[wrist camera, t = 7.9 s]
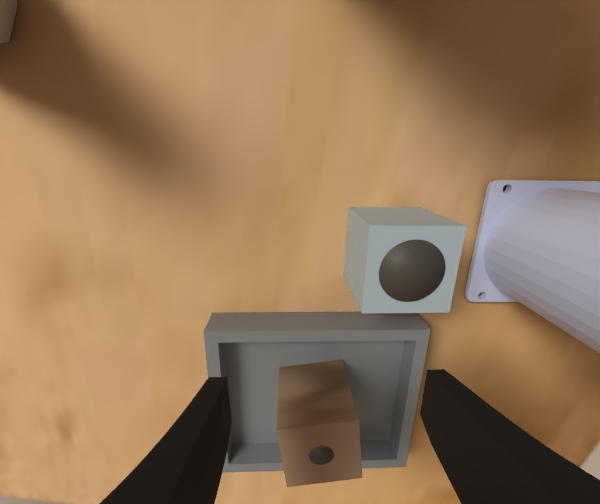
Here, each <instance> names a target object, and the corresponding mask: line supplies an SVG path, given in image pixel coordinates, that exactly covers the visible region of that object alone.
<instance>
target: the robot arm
mask: <svg viewBox="0 0 600 504" xmlns="http://www.w3.org/2000/svg"><path fill="white" fill-rule="evenodd" d="M505 185H506V186H507V189H506V191H504V192H503V187H504V186H505ZM481 292H482V294H481V295H480V296H478V295H479V294H480V293H481ZM464 296H465V298H466V299H467V300H468V301H470V302H520V303H521V304H523V305H525V306H526V307H528V308H529V309H531V310H532V311H534V312H535V313H537V314H539V315H540V316H542V317H543V318H545V319H546V320H548V321H550V322H551V323H553V324H554V325H556V326H557V327H559V328H560V329H562V330H564V331H565V332H567V333H568V334H570V335H571V336H573V337H575V338H576V339H578V340H579V341H581V342H582V343H584V344H585V345H587V346H589V347H590V348H592V349H593V350H595V351H596V352H598V353H600V181H565V180H493V181H492V182H490V183H489V185H488V187H487V190H486V195H485V199H484V204H483V209H482V213H481V218H480V223H479V227H478V232H477V237H476V241H475V246H474V251H473V255H472V260H471V265H470V270H469V274H468V279H467V284H466V288H465V293H464ZM420 415H421V417H422V420H423V423H424V426H425V428H426V431H427V434H428V436H429V439H430V441H431V444H432V446H433V448H434V450H435V452H436V454H437V456H438V458H439V460H440V462H441V464H442V466H443V468H444V470H445V472H446V474H447V476H448V478H449V480H450V482H451V484H452V486H453V488H454V490H455V492H456V494H457V496H458V498H459V500H460V502H461V503H462V504H600V480H599V479H597V478H595V477H594V476H592V475H590V474H589V473H587V472H585V471H584V470H582V469H581V468H579V467H578V466H576V465H574V464H573V463H571V462H570V461H568V460H567V459H565V458H563V457H562V456H560V455H559V454H557V453H556V452H554V451H553V450H551V449H550V448H548V447H547V446H545V445H544V444H542V443H541V442H539V441H538V440H537V439H535V438H534V437H532V436H531V435H529V434H528V433H527V432H525V431H524V430H522V429H521V428H520V427H518V426H517V425H515V424H514V423H513V422H511V421H510V420H509V419H507V418H506V417H505V416H503V415H502V414H501V413H499V412H498V411H497V410H495V409H494V408H493V407H491V406H490V405H489V404H488V403H486V402H485V401H484V400H482V399H481V398H480V397H479V396H477V395H476V394H475V393H474V392H472V391H471V390H470V389H468V388H467V387H466V386H465V385H463V384H462V383H461V382H460V381H458V380H457V379H456V378H455V377H453V376H452V375H451V374H449V373H448V372H447V371H445V370H444V369H443V370H427V375H426V381H425V387H424V394H423V400H422V406H421V412H420ZM231 423H232V419H231V410H230V400H229V391H228V381H227V377H209V378H208V379H207V380H206V382H205V383H204V385H203V386H202V387H201V389H200V390H199V392H198V393H197V394H196V396H195V397H194V398H193V400H192V401H191V402H190V404H189V405H188V406H187V408H186V409H185V410H184V412H183V413H182V414H181V415H180V417H179V418H178V419H177V420H176V422H175V423H174V424H173V425H172V427H171V428H170V429H169V430H168V432H167V433H166V434H165V435H164V436H163V437H162V439H161V440H160V441H159V442H158V443H157V444H156V445H155V447H154V448H153V449H152V450H151V451H150V452H149V453H148V455H147V456H146V457H145V458H144V459H143V460H142V461H141V462H140V463H139V465H138V466H137V467H136V468H135V469H134V470H133V471H132V472H131V473H130V474H129V475H128V476H127V477H126V478H125V479H124V480H123V481H122V482H121V483H120V484H119V485H118V486H117V487H116V488H115V489H114V490H113V491H112V492H111V493H110V494H109V495H108V496H107V497H106V498H105V499H104V500H103V501H102V502H101V503H100V504H214V502H215V499H216V495H217V491H218V487H219V483H220V479H221V475H222V471H223V467H224V463H225V459H226V455H227V450H228V443H229V437H230V430H231Z"/></svg>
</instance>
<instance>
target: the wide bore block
mask: <svg viewBox="0 0 600 504" xmlns="http://www.w3.org/2000/svg"><path fill="white" fill-rule="evenodd" d="M466 228H467V226H465V225H463V224H460V223H458V222H455V221H453V220H450V219H448V218H445V217H443V216H441V215H438V214H436V213H433V212H431V211H428V210H426V209H423V208H421V207H348V217H347V232H346V246H345V261H344V277H345V279H346V281H347V283H348V285H349V288H350V290H351V292H352V294H353V296H354V298H355V301H356V303H357V305H358V307H359V309H360V311H361V313H449V312H450V307H451V302H452V297H453V292H454V287H455V282H456V277H457V272H458V267H459V262H460V257H461V253H462V248H463V243H464V238H465V233H466Z"/></svg>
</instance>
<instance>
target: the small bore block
mask: <svg viewBox="0 0 600 504" xmlns="http://www.w3.org/2000/svg"><path fill="white" fill-rule="evenodd" d="M277 435H278V440H279V446H280V451H281V457H282V462H283V467H284V473H285V478H286V483H287V487H292V486H300V485H308V484H316V483H324V482H332V481H341V480H349V479H357V478H362V464H361V448H360V432H359V420H358V416H357V412H356V408H355V405H354V401H353V397H352V393H351V390H350V386H349V382H348V378H347V375H346V371H345V367H344V363H343V360H334V361H325V362H317V363H309V364H301V365H293V366H284V367H279V384H278V409H277Z"/></svg>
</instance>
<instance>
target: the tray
mask: <svg viewBox="0 0 600 504" xmlns="http://www.w3.org/2000/svg"><path fill="white" fill-rule="evenodd" d="M430 331H431V329H430V328H429V327H428V325H427V324H426V323H425V322H424V321H423V319H422V318H421V317H420V316H419V314H418V313H361V312H266V313H212V315H211V317H210V319H209V321H208V323H207V326H206V328H205V330H204V340H205V350H206V359H207V369H208V378H209V377H227V381H228V391H229V400H230V410H231V419H232V423H231V430H230V437H229V443H228V450H227V455H226V459H225V463H224V467H223V471H222V472H255V471H284V467H283V462H282V457H281V451H280V446H279V440H278V435H277V409H278V384H279V367H284V366H293V365H301V364H309V363H317V362H325V361H334V360H343V363H344V367H345V371H346V375H347V378H348V382H349V386H350V390H351V393H352V397H353V401H354V405H355V408H356V412H357V416H358V420H359V432H360V448H361V464H362V468H388V467H406V463H407V458H408V452H409V447H410V441H411V436H412V430H413V424H414V419H415V413H416V408H417V402H418V397H419V391H420V386H421V380H422V375H423V369H424V364H425V358H426V353H427V347H428V342H429V336H430Z"/></svg>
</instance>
